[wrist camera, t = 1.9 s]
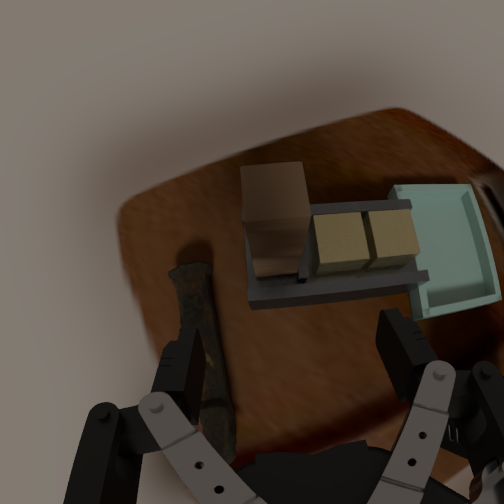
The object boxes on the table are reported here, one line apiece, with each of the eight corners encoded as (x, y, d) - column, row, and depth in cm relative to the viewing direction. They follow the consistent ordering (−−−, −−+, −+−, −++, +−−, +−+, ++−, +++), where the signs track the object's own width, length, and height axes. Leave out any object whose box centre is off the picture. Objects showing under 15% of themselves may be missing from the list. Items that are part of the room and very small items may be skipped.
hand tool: (176, 275, 32) (161, 262, 27) (214, 268, 32) (204, 254, 27) (205, 458, 25) (193, 473, 21) (245, 454, 25) (240, 470, 21)
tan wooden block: (299, 230, 29) (313, 151, 17) (306, 281, 27) (328, 226, 16) (252, 235, 29) (239, 157, 18) (256, 286, 27) (244, 233, 16)
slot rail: (393, 220, 32) (409, 198, 27) (408, 292, 29) (429, 280, 24) (246, 232, 32) (241, 210, 28) (251, 310, 30) (247, 301, 25)
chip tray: (461, 194, 32) (470, 184, 30) (489, 304, 28) (501, 299, 25) (387, 196, 33) (393, 184, 30) (412, 321, 28) (423, 317, 26)
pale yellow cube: (349, 230, 28) (360, 212, 25) (357, 272, 27) (369, 258, 23) (308, 234, 29) (313, 215, 25) (314, 276, 27) (320, 263, 23)
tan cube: (394, 227, 28) (409, 209, 24) (403, 266, 27) (420, 252, 23) (356, 230, 28) (368, 211, 25) (364, 271, 27) (377, 257, 23)
